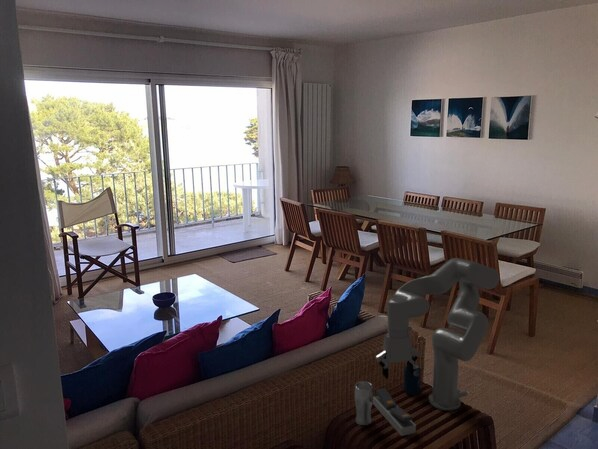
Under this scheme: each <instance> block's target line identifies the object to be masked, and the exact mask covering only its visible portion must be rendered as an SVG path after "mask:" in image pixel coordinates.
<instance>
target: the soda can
mask: <svg viewBox="0 0 598 449" xmlns="http://www.w3.org/2000/svg"><path fill="white" fill-rule="evenodd" d="M421 376H422V371H421V368H420V364H418V363H417V362H415V363H414V364H413V371H412V375H410V374H409V373H408V372H407V363H406V364H405V366H404V368H403V390H404V392H405V393H406V394H408V395H409V396H410V395H411V396H415V395H418V394H419V393H420V391H421V382H422V379H421Z"/></svg>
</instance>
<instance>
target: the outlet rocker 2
mask: <svg viewBox="0 0 598 449" xmlns="http://www.w3.org/2000/svg"><path fill="white" fill-rule="evenodd" d="M390 412H391V413H392V414H394V415H395V416H396V417H398V418H399V419H400V420H402V421H403V422H405V421H410V420H411V421H413V420H414V416H413V415H411V414H410V413H408V412H407V411H405V410H404V409H403V408H401V407H400V406H398V407H397V408H392V409H390Z"/></svg>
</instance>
